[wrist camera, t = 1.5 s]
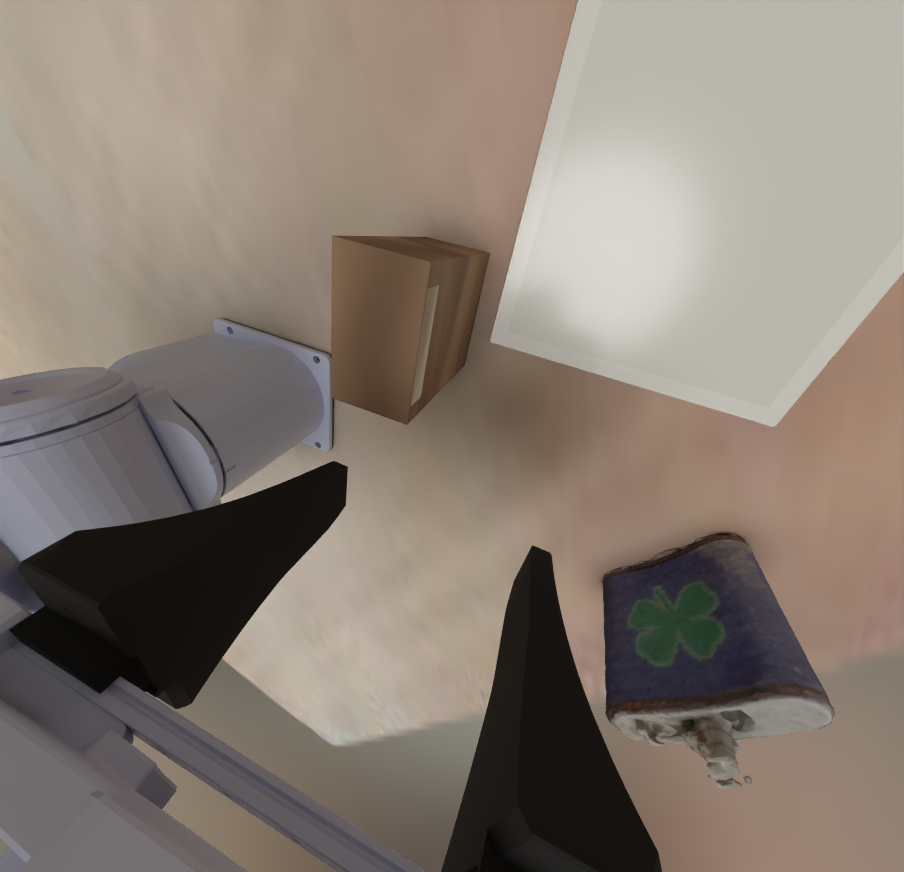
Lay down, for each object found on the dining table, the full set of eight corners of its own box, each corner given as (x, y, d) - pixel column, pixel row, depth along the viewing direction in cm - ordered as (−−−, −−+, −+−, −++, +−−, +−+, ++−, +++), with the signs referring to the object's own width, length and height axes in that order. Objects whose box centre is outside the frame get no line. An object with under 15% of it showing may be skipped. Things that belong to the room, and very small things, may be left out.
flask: (733, 524, 20) (849, 754, 11) (762, 558, 20) (897, 806, 11) (592, 574, 25) (596, 759, 16) (618, 600, 25) (635, 794, 17)
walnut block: (410, 348, 21) (331, 397, 15) (425, 236, 18) (331, 235, 11) (464, 365, 21) (407, 424, 14) (490, 253, 17) (430, 262, 11)
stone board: (492, 338, 19) (489, 342, 18) (599, -66, 12) (600, -88, 11) (766, 419, 17) (775, 428, 16) (1123, -23, 9) (1170, -46, 9)
